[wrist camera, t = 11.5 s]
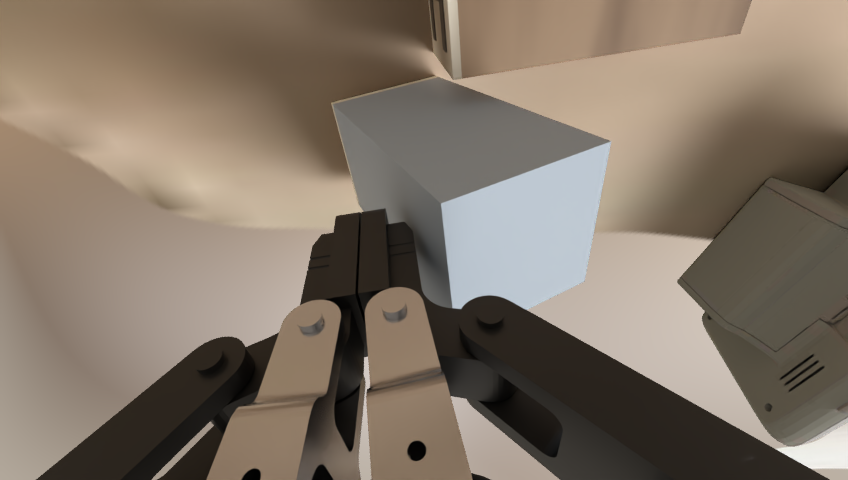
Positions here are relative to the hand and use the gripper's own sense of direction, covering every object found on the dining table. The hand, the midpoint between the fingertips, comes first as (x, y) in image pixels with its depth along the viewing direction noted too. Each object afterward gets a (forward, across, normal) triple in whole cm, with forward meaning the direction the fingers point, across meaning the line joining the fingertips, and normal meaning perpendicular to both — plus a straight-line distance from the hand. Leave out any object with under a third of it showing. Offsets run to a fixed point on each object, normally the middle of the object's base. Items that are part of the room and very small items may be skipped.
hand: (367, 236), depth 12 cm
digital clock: (+9, -26, +12) cm, 29 cm away
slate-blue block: (+8, -1, 0) cm, 8 cm away
